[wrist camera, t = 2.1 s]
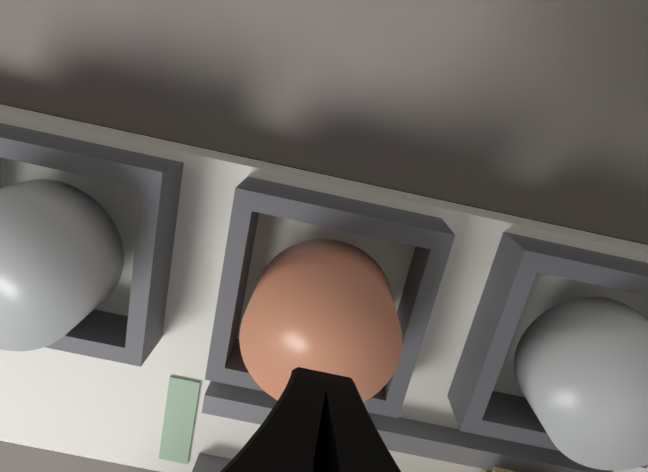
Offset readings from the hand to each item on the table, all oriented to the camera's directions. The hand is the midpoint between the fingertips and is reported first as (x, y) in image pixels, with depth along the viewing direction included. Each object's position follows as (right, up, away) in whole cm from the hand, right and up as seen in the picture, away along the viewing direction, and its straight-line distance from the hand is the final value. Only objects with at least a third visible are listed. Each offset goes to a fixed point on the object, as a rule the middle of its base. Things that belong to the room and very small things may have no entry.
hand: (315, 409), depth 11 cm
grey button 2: (-9, +3, +5) cm, 10 cm away
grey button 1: (+9, 0, +6) cm, 10 cm away
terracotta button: (0, +2, +5) cm, 5 cm away
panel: (-1, 0, +9) cm, 9 cm away
